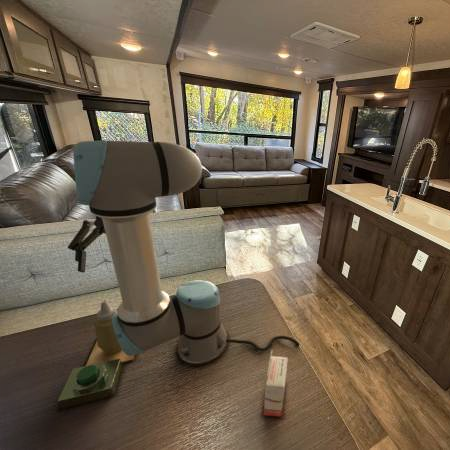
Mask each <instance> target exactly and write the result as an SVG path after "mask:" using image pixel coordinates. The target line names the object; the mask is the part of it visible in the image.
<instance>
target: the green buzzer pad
mask: <svg viewBox="0 0 450 450" xmlns="http://www.w3.org/2000/svg"><path fill="white" fill-rule="evenodd" d="M93 365H94V366H96V367H97V370H98V376H97V378H96V379H95V380H94V381H92V382H90V383H89V384H86V385H81V384H79V382H78V379H77V374H78V373H79V371H80V370H82V369H83V368H85V367H87V366H86V365H83V366H80V367H74V368H72V371H71V372H70V375H69V376H68V379H67V380H66V383H65V385H64V387H63V389H62V391H61V393H60V395H59V397H58V400H57V404H58V406H59V407H60V409H66V408H69V407H73V406H77V405H80V404H85V403H89V402H92V401H93V402H94V401H97V400H100V399H104V398H108V397H113V396H114V395H115V392H116V388H117V385H118V382H119V379H120V375H121V371H122V368H123V363H122V362H121V359H116V360H111V361H107V362H102V363H97V364H93ZM88 366H90V365H88Z"/></svg>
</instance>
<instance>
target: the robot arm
mask: <svg viewBox="0 0 450 450" xmlns="http://www.w3.org/2000/svg"><path fill="white" fill-rule="evenodd" d="M72 154H73V156H72V157H73V167H74V168H73V169H74V179H75V188H76V198H77V203H78V205H81V206H88V207H89V210H90V213H91V214H92V215H93V216H95V220H94V221H91V220H90V221H89V220H87V219H84V220H83V221H82V225H81V228H80V229H79V230H78V232H77V233H76V234H75V235H74V237H73V239H72V240H71V242H70V243H69V244H68V246H67V249H68V250H71V251H72V252H73V251H74V253H75V255H74V260H75V262H77V272H79V273H86V267H87V266H86V265H87V251H85V250H86V249H88V247H89V246H90V245H92V243H94V242H95V240H97V239H98V238H99V237H102V235H103V234H104V235H105V236H106V240H107V245H108V249H109V252H110V257H111V260H112V264H113V268H114V272H115V277H116V281H117V285H118V289H119V294H120V297H121V302H120V304H119V305H118V307H117V309H116V310H117V314H115V315H113V317H112V324H113V328H114V332H115V334H116V337H117V340H118V342H119V345H120V347H121V349H122V350H123V352H124V353H125V354H126V355H129V356H133V355H134V356H135V355H138V354H141V353H145V352H147V351H149V350H151V349H154V348H155V347H158V346H160V345H162V344H165V343H168V342H169V341H172V340H174V339H177V338H178V337H179V339H178V342H177V353H178V357H179V359H180V360H181V361H182V362H183V363H184V364H186V365H190V366H203V365H206V364H209V363H211V362H213V361H215V360H216V359H218V358H219V357H220V356H221V355H222V354H223V353H224V352H225V350H226V349H227V346H228V343H233V344H246V345H250V346H252V347H253V348H254V349H256V350H257V351H259V352H265V351H267V350H269V349H270V348H271V347H272V344H273V343H274V342H275V341H276V340H287V341H290V342H292V343H293V344H294V345H296V346H300V345H301V344H300V343H299V342H298V341H297V340H296V339H295V338H293V337H291V336H287V335H277V336H274V337H273V338H271V339H270V340H269V341H268V343H267V345H266V346H265V347H260V346H259V345H258V344H256V343H255V342H253V341H250V340H247V339H246V340H245V339H233V338H228V334H227V330H226V329H225V327H224V326H223V323H222V320H221V319H222V317H221V297H220V290H219V288H218V287H217V286H216V285H215V284H214V283H213V282H211V281H206V280H201V279H199V280H198V279H195V280H189V281H186V282H184V283H182V284H181V285H180V286H179V287H178V288H177V290H176V293H175V294H172V295H169V294H168V293H167V292H165V291H164V290H162V284H161V283H162V282H161V278H160V277H161V276H160V271H159V264H158V259H157V251H156V245H155V238H154V231H153V226H152V219H151V213H152V212H153V211H154V210H156V208H157V199H156V198H163V197H170V196H176V195H179V194H182V193H186V192H187V191H189V190H191V189H192V188H194V187H195V186H196V184H197V183H198V182H199V181H200V179H201V177H202V172H203V166H202V162H201V160H200V158H199V157H198V156H197V154H196V153H194V151H192V150H191V149H189V148H187V147H185V146H183V145H180V144H177V143H172V142H167V141H137V140H135V141H134V140H133V141H131V140H106V139H102V140H85V141H84V140H83V141H79V142H77V143H75V145H74V146H73V148H72ZM93 226H94V227H95V228H94V229H92V228H93ZM91 229H92V231H91V233H89V232H90V230H91Z"/></svg>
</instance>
